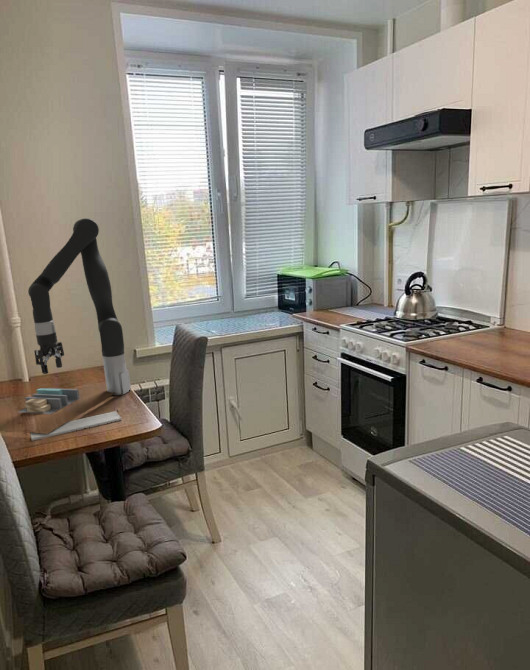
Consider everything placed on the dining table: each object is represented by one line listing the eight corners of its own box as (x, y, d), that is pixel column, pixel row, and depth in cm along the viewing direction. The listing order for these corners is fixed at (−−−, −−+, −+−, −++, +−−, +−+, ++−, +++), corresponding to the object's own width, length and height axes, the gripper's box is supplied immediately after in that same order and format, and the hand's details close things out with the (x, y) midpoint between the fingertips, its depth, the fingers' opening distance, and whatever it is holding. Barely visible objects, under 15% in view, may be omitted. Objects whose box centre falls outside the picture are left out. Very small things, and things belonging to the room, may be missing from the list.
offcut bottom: (50, 409, 202) (50, 404, 202) (44, 412, 199) (43, 407, 198) (34, 408, 205) (33, 403, 204) (27, 411, 201) (26, 406, 200)
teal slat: (61, 389, 211) (39, 388, 214) (58, 390, 209) (36, 389, 212) (63, 400, 212) (41, 399, 215) (60, 402, 210) (38, 401, 213)
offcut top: (47, 404, 202) (46, 399, 202) (40, 407, 199) (39, 402, 198) (32, 403, 204) (31, 398, 204) (25, 406, 201) (24, 402, 200)
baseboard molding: (29, 431, 186) (32, 442, 176) (28, 424, 185) (30, 435, 175) (114, 412, 200) (121, 421, 190) (113, 405, 200) (121, 414, 189)
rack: (80, 401, 214) (79, 388, 213) (51, 417, 197) (49, 404, 196) (49, 399, 219) (47, 387, 218) (17, 415, 201) (15, 402, 200)
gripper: (41, 336, 198) (48, 375, 201) (64, 328, 211) (71, 365, 214) (25, 336, 200) (33, 375, 203) (49, 328, 213) (56, 365, 217)
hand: (52, 370), depth 209 cm, fingers open, 8 cm apart
